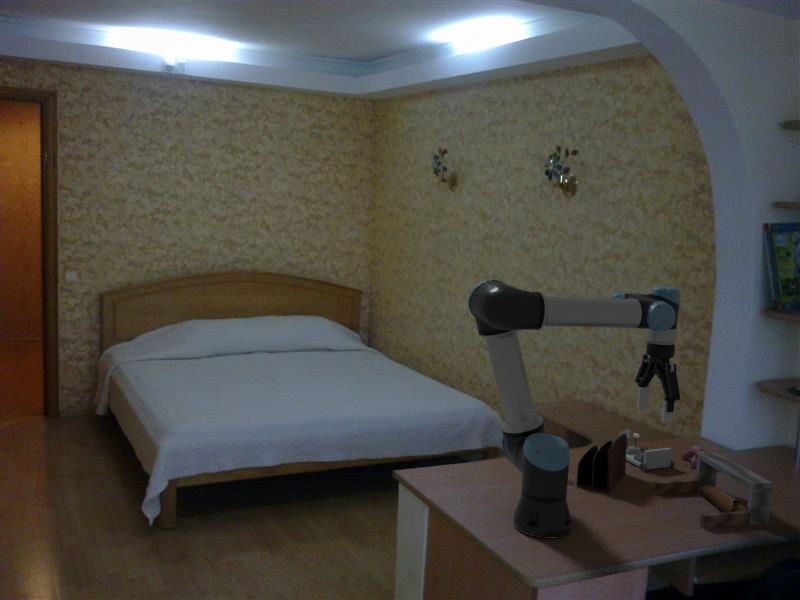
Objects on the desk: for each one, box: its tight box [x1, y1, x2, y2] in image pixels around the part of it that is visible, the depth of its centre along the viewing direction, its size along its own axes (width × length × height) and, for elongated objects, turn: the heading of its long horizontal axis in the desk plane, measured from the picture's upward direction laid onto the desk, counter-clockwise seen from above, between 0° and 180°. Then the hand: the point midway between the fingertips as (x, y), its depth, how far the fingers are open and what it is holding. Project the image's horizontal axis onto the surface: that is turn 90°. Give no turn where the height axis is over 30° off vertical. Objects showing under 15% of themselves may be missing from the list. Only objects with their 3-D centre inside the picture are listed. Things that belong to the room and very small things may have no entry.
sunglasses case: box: [699, 485, 747, 512], centre depth 221 cm, size 18×7×7 cm
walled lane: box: [652, 451, 774, 530], centre depth 220 cm, size 20×25×12 cm
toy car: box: [618, 427, 675, 473], centre depth 257 cm, size 18×10×12 cm
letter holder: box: [575, 434, 628, 494], centre depth 239 cm, size 10×20×14 cm, turn 150°
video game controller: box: [680, 445, 707, 469], centre depth 256 cm, size 10×5×7 cm, turn 0°
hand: (654, 416), depth 221 cm, fingers open, 13 cm apart
